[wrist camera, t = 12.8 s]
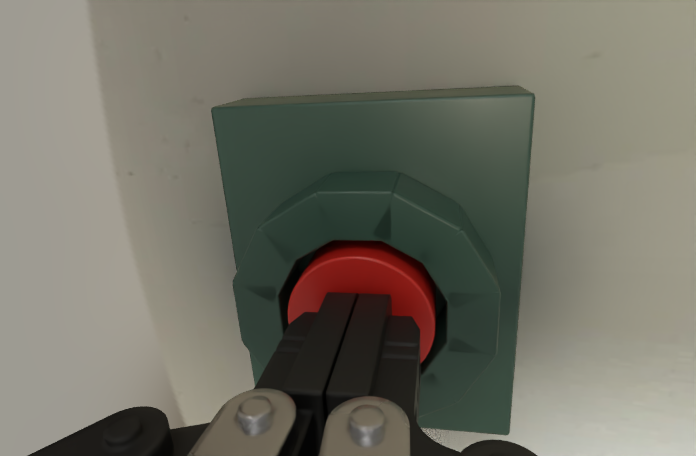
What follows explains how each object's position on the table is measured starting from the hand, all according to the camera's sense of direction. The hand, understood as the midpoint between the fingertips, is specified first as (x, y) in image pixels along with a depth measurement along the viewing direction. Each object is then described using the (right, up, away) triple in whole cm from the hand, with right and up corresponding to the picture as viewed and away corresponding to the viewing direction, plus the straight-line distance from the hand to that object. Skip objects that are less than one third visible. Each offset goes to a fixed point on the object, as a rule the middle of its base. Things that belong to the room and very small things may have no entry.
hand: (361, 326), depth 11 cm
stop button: (0, +1, +2) cm, 2 cm away
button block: (+1, +2, +4) cm, 4 cm away
